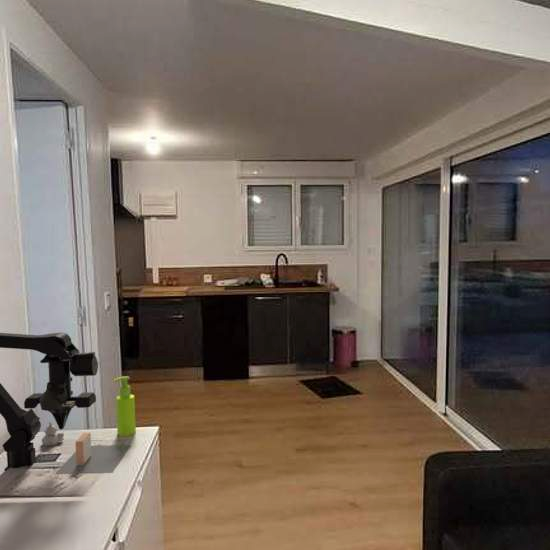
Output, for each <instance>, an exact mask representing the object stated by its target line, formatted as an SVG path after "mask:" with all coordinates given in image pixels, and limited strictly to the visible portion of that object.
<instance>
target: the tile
mask: <svg viewBox="0 0 550 550" xmlns="http://www.w3.org/2000/svg"><path fill="white" fill-rule="evenodd" d="M91 439H92V434H91V433H90V432H84V433H82V434H81V436H80V437H78V438H77V439H76V440H75V452H76V464H77V465H84V464H85V463H86V461H87V460H88V459H89V458H90V457H91V446H92V440H91Z"/></svg>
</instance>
